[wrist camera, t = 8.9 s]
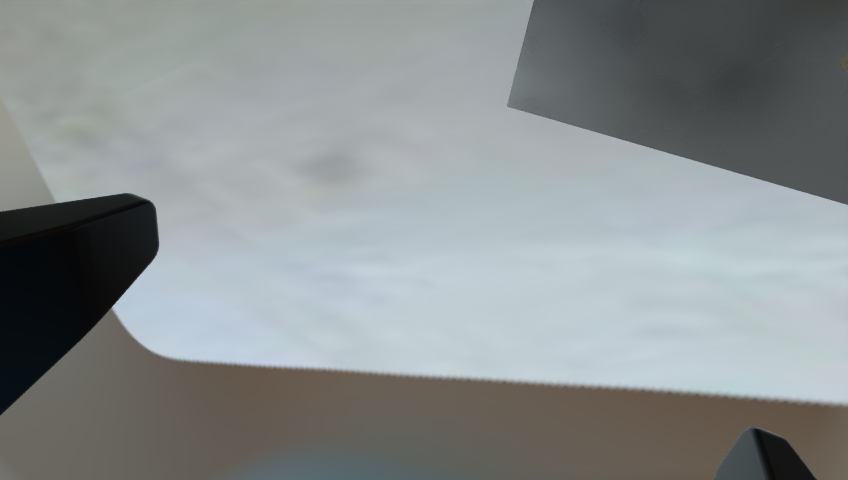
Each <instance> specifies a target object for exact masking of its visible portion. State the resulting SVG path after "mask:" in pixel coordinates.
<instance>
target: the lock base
mask: <svg viewBox="0 0 848 480" xmlns="http://www.w3.org/2000/svg"><path fill="white" fill-rule="evenodd" d="M847 53H848V0H534V2H533V6H532V10H531V14H530V18H529V22H528V26H527V30H526V34H525V38H524V42H523V46H522V49H521V53H520V57H519V61H518V65H517V69H516V73H515V77H514V81H513V85H512V89H511V93H510V96H509V100H508V104H507V106H508V107H511V108H515V109H518V110H521V111H525V112H528V113H532V114H535V115H539V116H542V117H546V118H549V119H553V120H556V121H560V122H563V123H566V124H570V125H573V126H577V127H580V128H584V129H587V130H591V131H594V132H598V133H601V134H605V135H608V136H612V137H615V138H618V139H622V140H625V141H629V142H632V143H636V144H639V145H643V146H646V147H650V148H653V149H657V150H660V151H663V152H667V153H670V154H674V155H677V156H681V157H684V158H688V159H691V160H695V161H698V162H702V163H705V164H709V165H712V166H715V167H719V168H722V169H726V170H729V171H733V172H736V173H740V174H743V175H747V176H750V177H754V178H757V179H760V180H764V181H767V182H771V183H774V184H778V185H781V186H785V187H788V188H792V189H795V190H799V191H802V192H805V193H809V194H812V195H816V196H819V197H823V198H826V199H830V200H833V201H837V202H840V203H844V204H847V205H848V72H847V71H846V70H845V69H844V68H843V67H842V66H841V65H840V64H839V62H840V61H841V60H842V59H843V58H844V57H845V55H846V54H847Z"/></svg>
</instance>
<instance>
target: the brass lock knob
mask: <svg viewBox="0 0 848 480" xmlns="http://www.w3.org/2000/svg"><path fill="white" fill-rule="evenodd" d="M839 64H840V65H841V66H842V67H843V68H844V69H845V70H846V71H847V72H848V53H847V54H846V55H845V57H844V58H843V59H842V60H841V61H840V62H839Z"/></svg>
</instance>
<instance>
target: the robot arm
mask: <svg viewBox="0 0 848 480" xmlns="http://www.w3.org/2000/svg"><path fill="white" fill-rule="evenodd" d="M158 249H159V236H158V225H157V214H156V208H155V206H154V204H153V203H152V202H151V201H149V200H147V199H145V198H142V197H139V196H137V195H134V194H129V193H124V194H117V195H110V196H103V197H97V198H90V199H83V200H76V201H70V202H63V203H56V204H49V205H43V206H36V207H29V208H22V209H16V210H9V211H2V212H0V415H1V414H3V413H4V412H5V411H6V410H7V409H8V408H9V407H10V406H11V405H12V404H13V403H14V402H15V401H16V400H18V399H19V398H20V397H21V396H22V395H23V394H24V393H25V392H26V391H27V390H28V389H29V388H30V387H31V386H32V385H34V384H35V382H37V381H38V380H39V379H40V378H41V377H42V376H43V375H44V374H45V373H46V372H47V371H48V370H49V369H51V368H52V367H53V366H54V365H55V364H56V363H57V362H58V361H59V360H60V359H61V358H62V357H63V356H64V355H65V354H67V353H68V351H70V350H71V349H72V348H73V347H74V346H75V345H76V344H77V343H78V342H79V341H80V340H81V339H82V338H83V337H84V336H86V334H87V333H88V332H90V331H91V330H92V329H93V328H94V326H95V325H96V324H97V323H98V322H99V321H100V320H101V319H102V318H103V316H104V315H105V314H106V313H107V312H108V311H109V310H110V309H111V308H112V306H113V305H114V304H115V303H116V302H117V301H118V300H119V298H120V297H121V296H122V295H123V294H124V293H125V292H126V290H127V289H128V288H129V287H130V286H131V285H132V284H133V282H134V281H135V280H136V279H137V278H138V277H139V276H140V274H141V273H142V272H143V271H144V270H145V269H146V268H147V266H148V265H149V264H150V263H151V262H152V261H153V259H154V258H155V256H156V255H157V252H158ZM714 480H817V479H816V477H815V476H814V475H813V473H812V472H811V471H810V469H809V468H808V467H807V466H806V464H805V463H804V461H803V460H802V459H801V458H800V456H799V455H798V453H797V452H796V451H795V450H794V448H793V447H792V446H791V445H790V443H789V442H788V441H787V440H786V439H785V438H783V437H781V436H779V435H777V434H774V433H771V432H769V431H766V430H763V429H761V428H758V427H748V428H747V429H746V430H744V431H743V432H742V434H741V435H740V437H739V438H738V439H737V441H736V442H735V444H734V445H733V446H732V448H731V449H730V451H729V452H728V454H727V455H726V456H725V458H724V459H723V461H722V462H721V464H720V465H719V467H718V469H717V472H716V475H715V479H714Z"/></svg>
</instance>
